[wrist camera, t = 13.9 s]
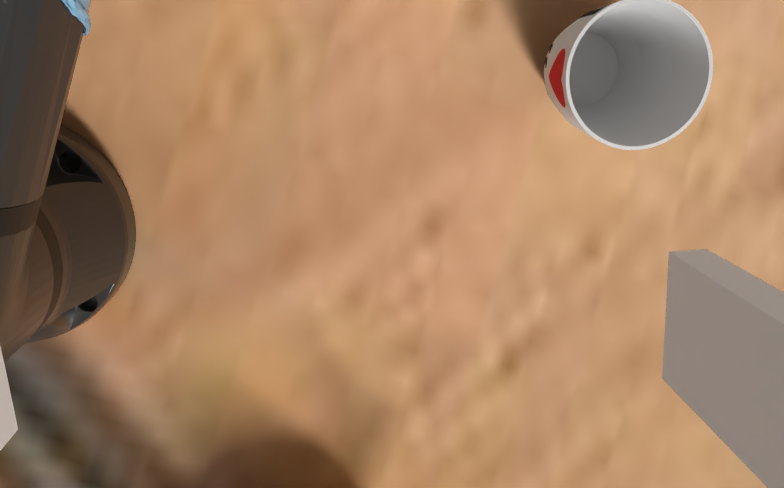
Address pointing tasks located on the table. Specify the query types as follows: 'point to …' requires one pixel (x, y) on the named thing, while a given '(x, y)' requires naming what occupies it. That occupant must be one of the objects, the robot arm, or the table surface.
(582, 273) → the table surface
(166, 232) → the table surface
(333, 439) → the table surface
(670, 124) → the cup
